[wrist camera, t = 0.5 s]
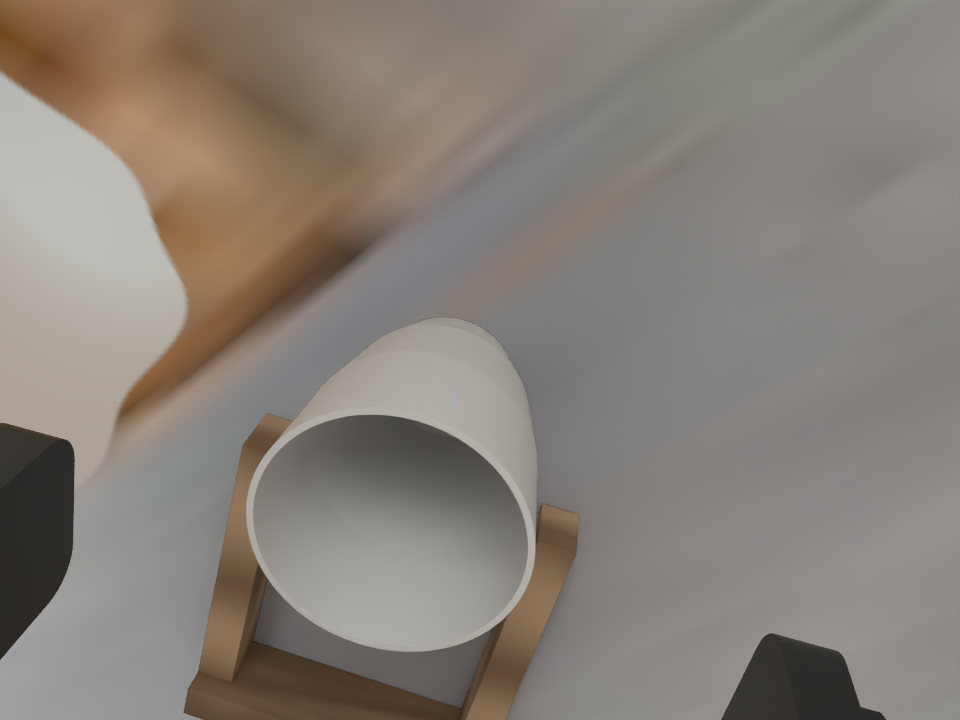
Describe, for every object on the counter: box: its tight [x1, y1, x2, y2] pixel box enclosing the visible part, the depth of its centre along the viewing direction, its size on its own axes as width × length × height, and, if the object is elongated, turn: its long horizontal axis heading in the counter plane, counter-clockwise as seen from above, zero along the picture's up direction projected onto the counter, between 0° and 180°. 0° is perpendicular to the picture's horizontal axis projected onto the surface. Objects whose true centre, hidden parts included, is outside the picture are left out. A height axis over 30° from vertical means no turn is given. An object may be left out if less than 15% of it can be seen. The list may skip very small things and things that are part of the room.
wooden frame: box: [184, 414, 579, 720], centre depth 36 cm, size 14×13×4 cm
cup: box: [246, 317, 538, 652], centre depth 29 cm, size 8×8×10 cm
